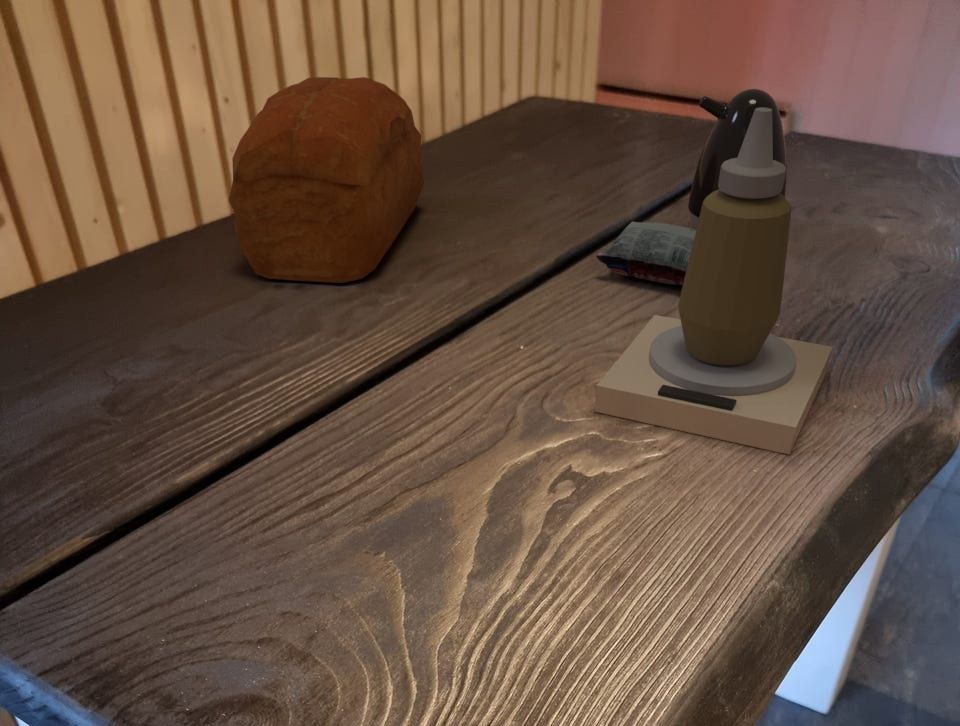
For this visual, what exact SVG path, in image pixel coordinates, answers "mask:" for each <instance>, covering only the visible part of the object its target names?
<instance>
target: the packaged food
mask: <svg viewBox="0 0 960 726" xmlns="http://www.w3.org/2000/svg"><path fill="white" fill-rule="evenodd" d="M695 233H696V230H695V229H694V228H692V227H689V226H688V227H687V226H682V225H678V224H671V223H665V222H662V221H643V222H638V221H631V222H630V223H629V224H628V225H627V226H626V227H625V228H624V229H623V231H622V232H621V233H620V234H619V235H618V236H617V237H616V239H615V240H614V241H613V242H612V243H611V244H610V245H609V246H608V247H606V248H604V249H603V250H602V251H600V252H599V253H597V254H596V255H595V258H597V260H598V261H599V262H601V263H602V264H604V265H605V266H606V268H608V269H609V271H611V272H612V273H613V274H616V275H620V276H625V277H629V278H630V277H631V278H635V279H640V280H646V281H649V282H655V283H659V284H667V285H673V286H683V283H684V279H685V275H686V271H687V267H688V262H689V258H690V254H691V250H692V246H693V242H694V237H695Z"/></svg>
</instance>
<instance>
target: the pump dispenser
mask: <svg viewBox="0 0 960 726" xmlns="http://www.w3.org/2000/svg"><path fill="white" fill-rule="evenodd" d="M699 107H700V108H701V109H703V110H705V112H707V113H709V114H710V115H712V116H713V117H715V118H716V119H717V120H716V122H715V124H714V125H713V127H712V129H711V131H710V133H709V135H708V137H707V139H706V142H705V144H704V147H703V149H702V151H701V154H700V157H699V159H698V163H697V166H696V169H695V173H694V176H693V180H692V184H691V188H690V192H689V196H688V204H687V205H688V207H687V209H688V211H689V212H690V220H691V224H692V227H693V228H692V229H695V230H696V229H697V225H698V221H699V217H700V212H701V208H702V204H703V201H704V200H705V198H706V197H707V196H708V195H710V194H711V193H712V192H714V191H716V190H719V187H718V182H719V176H720V169H721V165H722V164H723V162H724V161H727V160H729V159H733V158H737V157H738V155H739V152H740V149H741V146H742V144H743V141H744V138H745V135H746V133H747V130H748V127H749V125H750V122H751V119H752V116H753V114H754V111H755V109H756V108H762V107H764V108H770V109H772V136H773V160H775V161H777V162H780V163H782V164H783V165H784V166H785V167H786V173H785V178H784V183H783V188H782V191H781V193H780V194H782V195H783V196H784V197H785V198H786V189H787V173H788V172H787V171H788V169H787V165H788V164H787V163H788V162H787V161H788V160H787V147H786V140H785V131H784V126H783V121H782V118H781V113H780V110H779V108H778V104H777V103H776V101H775V99H774V98H773V96H771V94H769V93H768V92H766V91H764V90H762V89H759V88H748V89H744V90H742V91H740V92H738V93H737V94H736V95H734V96H733V97H732V98H731V99H730V100H729V102H728V103H727V104H725V103H723V102H720V101H718V100H716V99H714V98H711V97H708V96H707V95H704V96H702V97H701V99H700V101H699Z"/></svg>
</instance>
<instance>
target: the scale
mask: <svg viewBox="0 0 960 726" xmlns="http://www.w3.org/2000/svg"><path fill="white" fill-rule="evenodd" d="M833 349H834V347H833V346H831V345H825V344H819V343H813V342H808V341H802V340H796V339H791V338H785V337H780V336H776V335H774V334H772V333H770V334H769V335H768V337H767V339H766V341H765V342H764V344H763V346H762V348H761V349H760V351H759V353H758V354H757V356H756V358H755V359H753V360H751V361H750V362H748V363H744V364H739V365H723V366H722V365H715V364H709V363H706V362H703V361H700V360H698V359H695V358H694V357H693V356H691V355H690V354H689V353H688V351H687V349H686V345H685V340H684V335H683V330H682V325H681V319H680V318H674V317H668V316H664V315H663V316H662V315H657V314H654V315H653V316H652V317H651V318H650V319H649V321H648V322H647V324H646V325H645V326H644V327H643V328H642V330H640V332H639V333H638V335H637V336H636V337H634V339H633V340H632V341H631V343H630V344H629V345H628V346H627V348H625V350H624V351H623V353H621V355H620V356H619V357H618V359H617V360H616V361H615V362H614V363H613V365H612V366H611V367H610V369H608V371H607V372H606V374H604V376H603V377H602V378H601V379H600V381H599V382H598V383H597V384H596V387H595V388H596V389H595V402H594V412H595V413H598V414H603V415H608V416H612V417H617V418H622V419H626V420H630V421H634V422H639V423H644V424H648V425H653V426H657V427H661V428H667V429H672V430H675V431H680V432H685V433H689V434H693V435H698V436H703V437H707V438H712V439H715V440H716V439H717V440H721V441H725V442H730V443H735V444H739V445H743V446H748V447H753V448H759V449H762V450H765V451H766V450H767V451H769V452H776V453H779V454H785V455H789V456H790V455H791V452H792V450H793V448H794V446H795V444H796V442H797V439H798V437H799V435H800V432H801V430H802V428H803V426H804V423H805V422H806V419H807V416H808V414H809V413H810V410H811V408H812V405H813V403H814V401H815V400H816V397H817V395H818V392H819V390H820V388H821V386H822V384H823V381H824V379H825V377H826V375H827V373H828V369H829V365H830V360H831V357H832V353H833Z"/></svg>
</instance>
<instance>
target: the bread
mask: <svg viewBox="0 0 960 726" xmlns="http://www.w3.org/2000/svg"><path fill="white" fill-rule="evenodd" d="M413 115H414V114H413V110H412V109H411V108H410V106H409V105H408V103H407V102H406V100H405V99H404V98H403V97H402V96H400V95H399V94H398V93H397V92H396V91H394V90H393V89H391V88H390V87H389V86H388V85H386V84H385V83H383V82H379V81H376V80H374V79H372V78H369V77H365V76H362V77H352V78H345V77H344V78H339V77H337V76H336V77H334V76H331V77H328V76H325V77H324V76H318V77H307V78H305V79H304V80H302V81H300V82H297V83H294V84H291V85H289V86H287V87H285V88H283V89H282V88H281V89H280V90H279V91H277V92H275V93H274V94H272V95H270V96H269V97H268V98H267V99H266V101H265V104H264V105H263V108H262V109H261V110H260V111H259V112H258V113H257V114H256V116H254V119H253V120H252V122H251V124H250V125H249V126H248V128H247V130H246V131H245V132H244V134H243V135H242V137H241V138H240V140H239V142H238V143H237V147H236V149H235V151H234V153H233V156H232V183H231V187H230V188H231V189H230V192H229V196H228V202H229V205H230V206H231V209H232V210H233V212H234V215H235V217H234V221H233V224H232V225H233V227H234V228H233V229H234V231H235V235H236V238H237V242H238V246H239V248H240V250H241V252H242V253H243V255H244V257H245V258H246V260H247V262H248V264H249V265H250V267H251V269H252V272H253V273H254V274H255V275H257V276H260V277H263V278H265V279H270V280H271V279H272V280H285V281H297V282H318V283H336V284H343V283H348V282H353V281H357V280H363V279H364V278H365V277H366V276H368V275H369V274H370V273H373V271H374V270H376V268H377V266H378V265H379V263H380V262H381V261H382V259H383V257H384V256H385V255H386V253H387V252H388V251H389V249H390V248H391V247H392V245H393V243H394V242H395V240H396V239H397V237H398V235H399V234H400V232H401V231H402V230H403V228H404V226H405V224H406V223H407V222H408V219H410V217H411V215H413V213H414V211H415V209H416V206H417V203H418V200H419V198H420V195H421V192H422V189H423V187H424V184H425V179H424V174H423V168H422V133H420V131H419V130H418V129H417V127H416V124H415V119H414V116H413Z"/></svg>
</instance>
